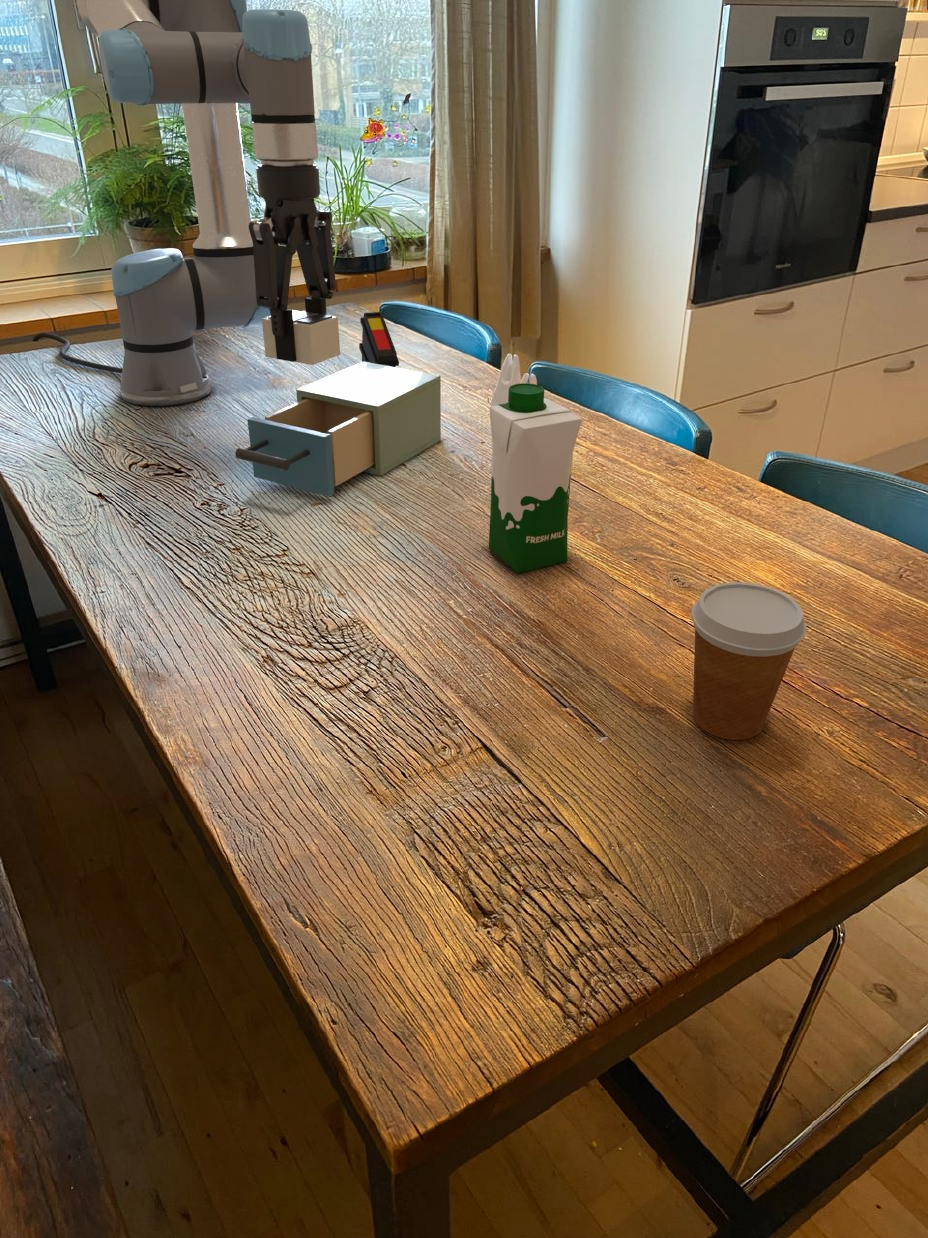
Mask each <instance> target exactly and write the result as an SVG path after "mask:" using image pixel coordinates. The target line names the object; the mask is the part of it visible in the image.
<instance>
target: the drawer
mask: <svg viewBox="0 0 928 1238" xmlns="http://www.w3.org/2000/svg"><path fill="white" fill-rule="evenodd" d="M247 427H248V428H247V429H248V439H249V446H248V447H246V448H242V447H238V448H236V450H235V451H234V454H235V458H236V459H239V460H243V461H247V462H250V463H252V472H253V477H254V478H255V479H259V480H264V481H267V482H272V483H276V484H279V485H283V486H286V487H290V488H295V489H299V490H302V491H306V492H310V493H313V494H316V495H317V494H318V495H322V496H324V497H331V496H333V495H335V487H337V486H339V485H341V484H342V483H344V482H346V481H348V480H349V479H352V478H353V477H355V476H357V475H358V474H360V473H362V471H364V470H365V469H367V468H369V467H371V466H372V465H374V464H375V442H374V417H373V411H369V410H364V409H359V408H354V407H350V406H345V405H340V404H335V403H331V402H326V401H321V400H316V399H312V398H306V399H304V400H302V401H300V402H297V401H296V402H295V403H293V404H291V405H288V406H286V407H284V408H281V409H279V410H277V411H274V412H272V413H270V414H267V415H265V416H264V418H259V417H255V416H252V417H249V418H247Z"/></svg>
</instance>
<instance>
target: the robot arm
mask: <svg viewBox="0 0 928 1238" xmlns="http://www.w3.org/2000/svg"><path fill="white" fill-rule="evenodd" d="M74 3H75V7H76V10H77V13H78V15H79V17H80V19H81V20H82V23H83V24H84V26H86V28H87V29H88V30H89V31H90V33H91V34H92V35H94V36H95V37H96V38H98V49H99V50H98V51H99V58H100V65H101V66H100V67H101V71H102V76H103V80H104V81H103V82H104V84H105V88H106V92H107V94H108V96H109V98H110V99H111V100H112V101H114V102H115V103H119V104H134V105H137V106H145V105H173V104H174V105H175V104H176V105H177V104H179V105H181V109H182V115H183V122H184V129H185V136H186V143H187V144H186V145H187V150H188V158H189V159H188V160H189V165H190V172H191V179H192V186H193V193H194V200H195V207H196V214H197V215H196V216H197V219H198V220H197V222H198V227H199V234H198V237H197V238H196V240H195V241H194V242H193V244H192V251H193V257H192V256H191V257H184V255H183V254H182V252H181V250H179V249H178V248H172V247H168V248H153V249H148V250H143V251H142V250H141V251H137V252H133V253H130V254H128V255H125V256H123V257H120V258H119V259H117V260H116V261H115V262H114V263H113V264H112V266H111V270H110V273H111V274H110V275H111V283H112V294H113V296H114V298H115V303H116V309H117V315H118V320H119V321H118V322H119V326H120V333H121V338H122V344H123V350H124V353H123V354H124V355H123V362H122V367H118V366H111V365H106V364H102V363H96V362H92V361H88V360H85V359H79V358H77V357H73V356H70V355H68V354H66V352H67V351H68V350H69V349H70V347H71V342H70V341H69V340H68V339H66V338H64V337H62V336H59V335H57V334H55V333H50V332H39V333H37V334H36V335H34V337H33V338H32V342H39V340H40V339H43V338H47V339H51V340H54V341H56V342H59V343H61V344H63V346H62V347H61V348H60V349H59V351H58V354H59V357H61V358H62V359H63V360H65V361H67V362H70V363H72V364H77V365H81V366H84V367H87V368H91V369H96V370H101V371H107V372H112V373H118V374H121V375H120V377H121V378H120V382H119V389H120V394H121V398H122V400H124V401H126V402H127V403H130V404H133V405H138V406H144V407H167V406H168V407H169V406H177V405H183V404H189V403H192V402H196V401H198V400H201V399H203V398H205V397H206V396H208V395H209V394H210V393H211V392H212V384H211V378H210V376H209V374H208V371H207V370H206V368H205V365H204V363H203V362H202V359H201V357H200V355H199V352H198V351H197V349H196V346H195V339H194V333H193V332H194V331H198V330H199V331H200V330H211V329H221V328H232V327H242V326H243V327H245V328H246V327H249V326H252V325H260V324H262V318H265V317H269V316H271V323H272V324H271V325H272V332H273V335H275V345H276V355H277V359H276V360H281V361H285V362H286V361H287V362H291V363H295V362H294V361H296V349H295V337H294V326H293V313H292V310H293V309H290V308H288V304H289V293H290V284H291V273H292V265H293V264H292V263H293V256H294V255H295V254H296V253H297V257H298V261H299V265H300V268H301V272H302V275H303V278H304V282H305V287H306V289H307V293H308V295H309V296H310V297H306V298H305V297H304V307H305V312H310V313H316V314H324V315H328V314H327V313H328V311H327V300H331V299H333V296H334V291H335V290H336V289H337V282H336V272H335V262H334V253H333V242H332V221H333V220H332V219H333V215H332V212H331V211H328V210H320V209H319V210H318V208H317V205H316V202H315V199H317V198H318V197H319V196H320V195H321V185H320V184H321V183H320V171H319V169H320V168H319V166H318V165H317V163H314V160H317V159H318V158H319V148H318V147H319V146H318V136H317V135H318V134H317V123H316V115H315V114H316V113H315V97H314V95H315V93H314V80H313V79H314V78H313V77H314V76H313V65H312V64H313V63H312V62H313V61H312V53H313V45H312V42H311V36H310V28H309V21H308V19H307V16H306V15H305V14H304V13H303V12H302V11H299V10H294V9H265V8H264V9H259V8H258V9H249V8H248V1H247V0H74ZM238 104H249V106H250V107H249V108H250V118H251V124H252V135H253V145H254V156H255V158H256V159H257V160H258V161H260V163H259V164H257V167H255V172H256V181H257V182H256V183H257V193H258V195H259V197H260V198H262V199H263V200H264V203H265V208H264V212H263V218H261V219H260V220H259V221H252V220H251V210H250V202H249V195H248V187H247V185H248V184H247V177H246V169H245V159H244V151H243V143H242V135H241V125H240V117H239V110H238Z"/></svg>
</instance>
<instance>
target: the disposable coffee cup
mask: <svg viewBox="0 0 928 1238" xmlns="http://www.w3.org/2000/svg"><path fill="white" fill-rule="evenodd" d="M803 611H804V610H803V609H802V607H801V605H800V604H799V603H798V602H797V601H796V600H795V599H793V598H792V597H790V596H789V595H788V594H786V593H784V592H782V591H780V590H778V589H775V588H773V587H770V586H766V585H762V584H759V583H753V582H741V581H739V582H738V581H731V582H723V583H718V584H715V585H712V586H710V587H707V589H705V590H703V591H702V593H701V595H700V596H699V598H698V600H697V601H696V602H695V603H694V604H693V606H692V608H691V613H690V614H691V620H692V623H693V626H694V654H693V655H694V659H693V662H694V663H693V668H694V669H693V693H692V696H693V698H692V699H693V700H692V702H693V703H692V717H693V720H694V721H695V723H696V724H697V726H698V727H700V728H701V729H702V730H703V731H705V732H706V733H708V734H710V735H712V736H715V737H718V738H721V739H724V740H732V741H743V740H748V739H752V738H755V737H757V735H759V734H760V733H761V732H762V730H763V728H764V725H765V723H766V720H767V718H768V715H769V713H770V710H771V709H772V706H773V703H774V701H775V698H776V697H777V693H778V691H779V688H780V686H781V684H782V682H783V678H784V676H785V674H786V671H787V670H788V666H789V664H790V662H791V660H792V657H793V654H794V651H795V649H796V648H797V647H798V645H799V644H800V643H801V642H802V640H803V639H804V638H805V636H806V632H807V624H806V621H805V620H804V612H803Z"/></svg>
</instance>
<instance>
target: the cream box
mask: <svg viewBox="0 0 928 1238" xmlns="http://www.w3.org/2000/svg"><path fill="white" fill-rule="evenodd" d="M291 310H292V313H293V326H294V337H295V349H296V361H294V362H293V363H300V364H305V365H311V366H314V365H317V364H319V363H323V362H324V361H327V360H329V359H333V358H336V357H338V356H341V346H340V343H341V342H340V328H339V317H338V316H335V315H328V314H327V315H324V314H316V313H310V312H306V311H301V310H295V309H291ZM271 324H272V323H271V316H269V317H265V318H262V323H261V326H262V335H263V346H264V353H265V355H264V356H265V357H266V358H271V359H276V360H278V359H277V355H276V345H275V335H273V332H272V325H271Z"/></svg>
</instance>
